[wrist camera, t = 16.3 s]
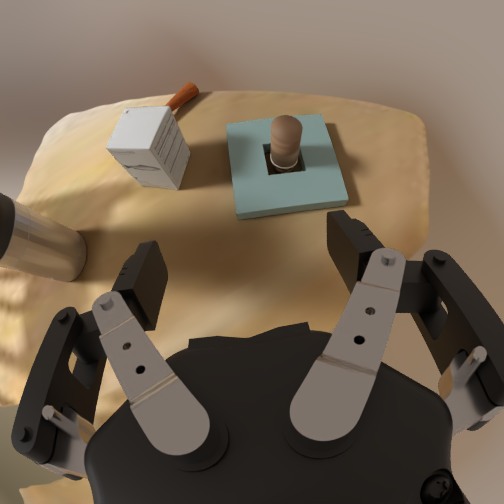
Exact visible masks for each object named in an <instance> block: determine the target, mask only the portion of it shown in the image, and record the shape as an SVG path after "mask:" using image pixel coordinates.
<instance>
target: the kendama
mask: <svg viewBox="0 0 504 504" xmlns="http://www.w3.org/2000/svg"><path fill="white" fill-rule="evenodd" d="M197 94H199V90H198V88H197V86H196V85H195V84H193V83H191V82H188V83H187V84H186V85H185V86H184V87H183V88H182V89H181V90H180V91H179V92H178V93H177V94H176V95H175V96H174V97H173V98H172V99H171V100H170V101H169V102H168V103H167V104H166V105H165V106H170V108H171V111H174V110H175V109H177V108H178V107H180V106H181V105H182V104H184V103H185V102H187V101H188V100H190V99H191V98H193V97H194V96H196V95H197ZM114 158H115V157H114ZM115 159H116V158H115Z"/></svg>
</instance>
